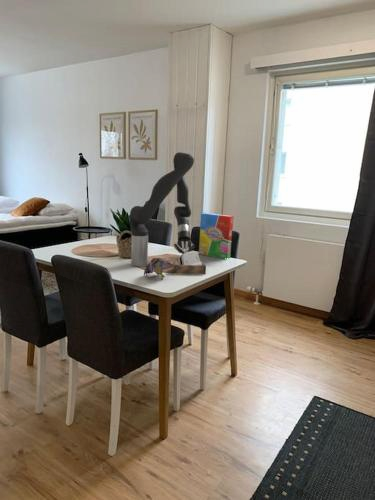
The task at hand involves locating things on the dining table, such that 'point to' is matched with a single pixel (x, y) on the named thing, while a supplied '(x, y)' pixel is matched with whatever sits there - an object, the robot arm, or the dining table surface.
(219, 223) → the game box
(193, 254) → the grey rounded block
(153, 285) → the dining table surface
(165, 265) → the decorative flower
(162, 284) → the dining table surface
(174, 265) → the hinge pocket
